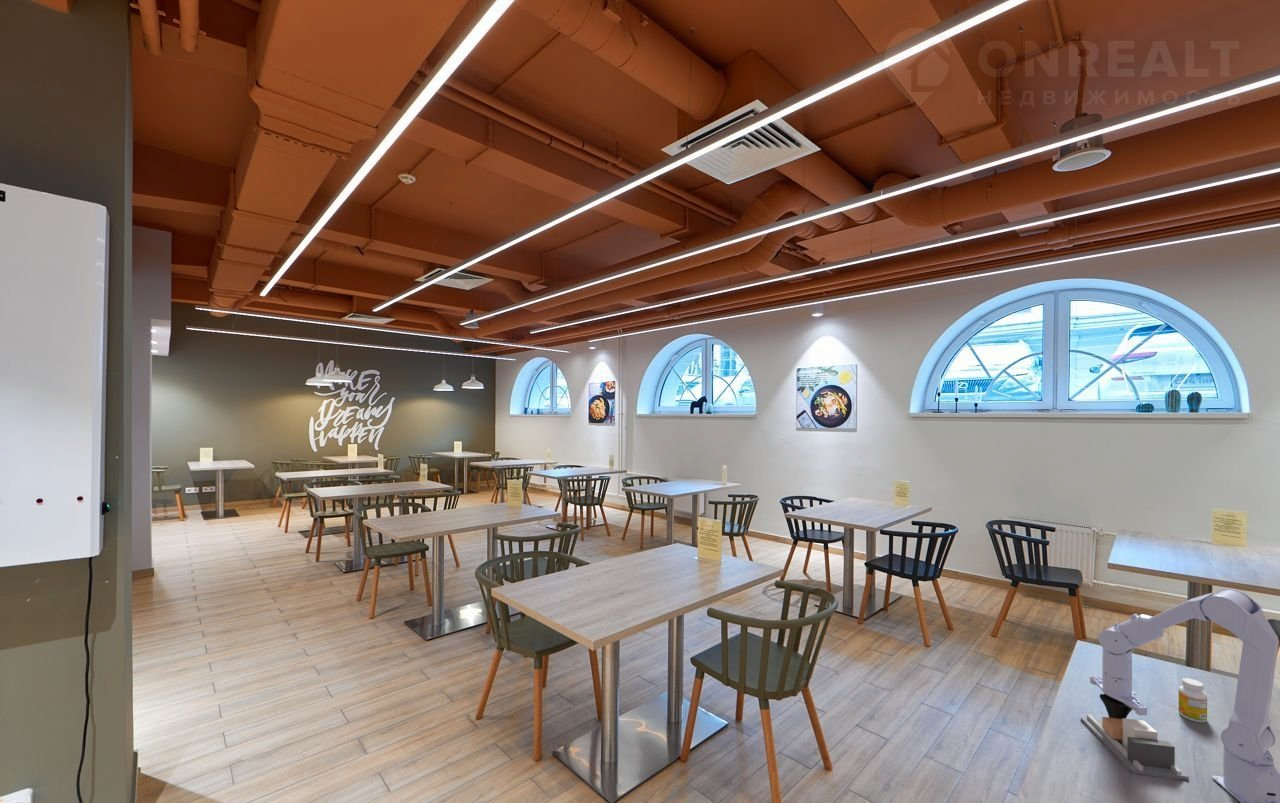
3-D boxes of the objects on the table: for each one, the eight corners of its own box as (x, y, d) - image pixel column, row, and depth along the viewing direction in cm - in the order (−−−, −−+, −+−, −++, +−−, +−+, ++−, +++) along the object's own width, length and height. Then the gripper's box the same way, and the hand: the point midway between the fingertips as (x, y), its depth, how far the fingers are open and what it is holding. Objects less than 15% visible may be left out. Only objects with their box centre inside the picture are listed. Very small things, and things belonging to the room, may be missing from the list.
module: (1157, 760, 125) (1157, 732, 125) (1135, 758, 126) (1135, 729, 126) (1143, 748, 129) (1143, 720, 129) (1122, 745, 130) (1122, 718, 130)
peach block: (1151, 742, 129) (1151, 730, 129) (1112, 738, 131) (1112, 726, 131) (1139, 732, 133) (1139, 720, 133) (1102, 728, 135) (1102, 716, 135)
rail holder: (1188, 780, 120) (1188, 753, 119) (1132, 772, 122) (1132, 746, 122) (1128, 725, 139) (1128, 702, 139) (1080, 720, 142) (1080, 697, 141)
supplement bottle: (1176, 708, 146) (1177, 674, 146) (1204, 715, 143) (1205, 680, 143) (1180, 717, 142) (1180, 682, 142) (1209, 725, 139) (1209, 689, 138)
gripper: (1159, 690, 128) (1159, 744, 128) (1108, 659, 142) (1108, 708, 143) (1130, 690, 128) (1130, 744, 128) (1082, 659, 143) (1082, 708, 143)
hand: (1116, 725), depth 135 cm, fingers closed
